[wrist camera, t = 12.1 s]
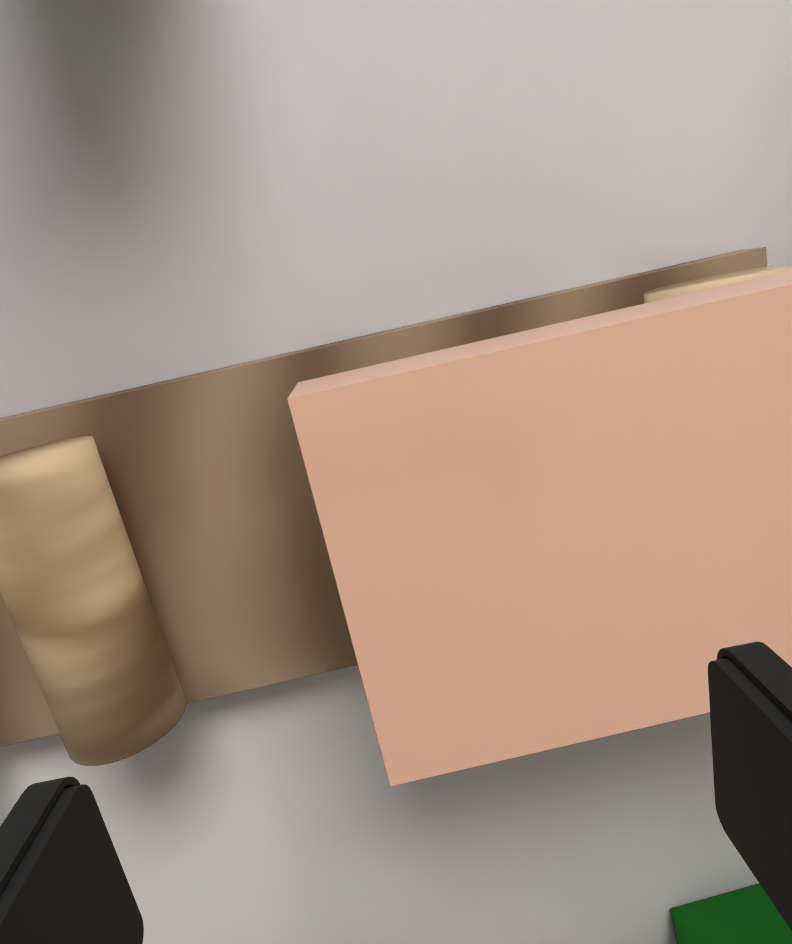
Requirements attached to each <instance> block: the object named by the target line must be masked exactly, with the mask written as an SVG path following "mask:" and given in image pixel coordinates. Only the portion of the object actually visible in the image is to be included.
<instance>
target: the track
mask: <svg viewBox="0 0 792 944" xmlns="http://www.w3.org/2000/svg"><path fill="white" fill-rule="evenodd" d="M760 267H767V258H766V247H763V248H755V249H747V250H740V251H735V252H731V253H726V254H722V255H718V256H713V257H709V258H704V259H700V260H696V261H691V262H687V263H682V264H678V265H674V266H669V267H665V268H660V269H656V270H652V271H647V272H643V273H638V274H634V275H629V276H625V277H621V278H616V279H612V280H607V281H603V282H599V283H594V284H590V285H585V286H581V287H577V288H572V289H568V290H563V291H559V292H555V293H550V294H546V295H541V296H537V297H533V298H528V299H524V300H519V301H515V302H511V303H506V304H502V305H497V306H493V307H489V308H484V309H480V310H475V311H471V312H467V313H462V314H458V315H453V316H449V317H445V318H440V319H436V320H431V321H427V322H423V323H418V324H414V325H409V326H405V327H401V328H396V329H392V330H387V331H383V332H379V333H374V334H370V335H365V336H361V337H357V338H352V339H348V340H343V341H339V342H334V343H330V344H326V345H321V346H317V347H312V348H308V349H304V350H299V351H295V352H290V353H286V354H282V355H277V356H273V357H268V358H264V359H260V360H255V361H251V362H246V363H242V364H238V365H233V366H229V367H224V368H220V369H216V370H211V371H207V372H202V373H198V374H194V375H189V376H185V377H180V378H176V379H172V380H167V381H163V382H158V383H154V384H150V385H145V386H141V387H136V388H132V389H128V390H123V391H119V392H114V393H110V394H106V395H101V396H97V397H92V398H88V399H84V400H79V401H75V402H70V403H66V404H62V405H57V406H53V407H48V408H44V409H39V410H35V411H31V412H26V413H22V414H17V415H13V416H9V417H4V418H0V456H2V455H5V454H9V453H12V452H16V451H19V450H23V449H26V448H30V447H34V446H38V445H42V444H46V443H50V442H55V441H59V440H64V439H69V438H75V437H82V436H92V437H93V439H94V441H95V444H96V447H97V450H98V453H99V456H100V458H101V461H102V464H103V467H104V470H105V473H106V475H107V478H108V481H109V484H110V487H111V490H112V492H113V495H114V498H115V501H116V504H117V507H118V509H119V512H120V515H121V518H122V521H123V524H124V526H125V529H126V532H127V535H128V538H129V541H130V543H131V546H132V549H133V552H134V555H135V558H136V560H137V563H138V566H139V569H140V572H141V575H142V577H143V580H144V583H145V586H146V589H147V592H148V594H149V597H150V600H151V603H152V606H153V609H154V611H155V614H156V617H157V620H158V623H159V626H160V628H161V631H162V634H163V637H164V640H165V643H166V645H167V648H168V651H169V654H170V657H171V660H172V662H173V665H174V668H175V671H176V674H177V677H178V679H179V682H180V685H181V688H182V691H183V694H184V696H185V699H186V704H189V703H193V702H198V701H202V700H206V699H211V698H215V697H219V696H224V695H228V694H232V693H237V692H241V691H245V690H250V689H254V688H258V687H263V686H267V685H271V684H276V683H280V682H284V681H289V680H293V679H297V678H302V677H306V676H310V675H315V674H319V673H323V672H328V671H332V670H336V669H341V668H345V667H349V666H354V665H358V662H357V659H356V655H355V651H354V647H353V644H352V640H351V636H350V632H349V629H348V625H347V621H346V617H345V613H344V610H343V606H342V602H341V598H340V595H339V591H338V587H337V583H336V580H335V576H334V572H333V568H332V565H331V561H330V557H329V553H328V550H327V546H326V542H325V538H324V535H323V531H322V527H321V523H320V520H319V516H318V512H317V508H316V505H315V501H314V497H313V493H312V490H311V486H310V482H309V478H308V475H307V471H306V467H305V463H304V459H303V456H302V452H301V448H300V444H299V441H298V437H297V433H296V429H295V426H294V422H293V418H292V414H291V411H290V407H289V403H288V399H287V398H288V397H289V395H290V394H291V392H292V391H293V389H294V388H295V386H296V385H297V383H298V382H302V381H306V380H311V379H315V378H319V377H324V376H328V375H333V374H337V373H341V372H346V371H350V370H355V369H359V368H363V367H368V366H372V365H377V364H381V363H385V362H390V361H394V360H399V359H403V358H407V357H412V356H416V355H421V354H425V353H429V352H434V351H438V350H443V349H447V348H451V347H456V346H460V345H465V344H469V343H473V342H478V341H482V340H487V339H491V338H495V337H500V336H504V335H508V334H513V333H517V332H522V331H526V330H530V329H535V328H539V327H544V326H548V325H552V324H557V323H561V322H566V321H570V320H574V319H579V318H583V317H588V316H592V315H596V314H601V313H605V312H610V311H614V310H618V309H623V308H627V307H632V306H636V305H640V304H645V303H644V293H645V292H647V291H650V290H653V289H656V288H659V287H663V286H667V285H671V284H675V283H679V282H684V281H688V280H693V279H697V278H702V277H707V276H712V275H718V274H723V273H729V272H734V271H740V270H746V269H753V268H760ZM54 734H59V731H58V728H57V726H56V723H55V721H54V719H53V716H52V714H51V712H50V709H49V707H48V704H47V702H46V700H45V697H44V695H43V693H42V690H41V688H40V686H39V683H38V681H37V678H36V676H35V674H34V671H33V669H32V667H31V664H30V662H29V659H28V657H27V655H26V652H25V650H24V648H23V645H22V643H21V640H20V638H19V636H18V633H17V631H16V629H15V626H14V624H13V621H12V619H11V617H10V614H9V612H8V610H7V607H6V605H5V603H4V600H3V598H2V595H1V593H0V747H2V746H6V745H11V744H15V743H19V742H24V741H28V740H33V739H37V738H41V737H46V736H50V735H54Z"/></svg>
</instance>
